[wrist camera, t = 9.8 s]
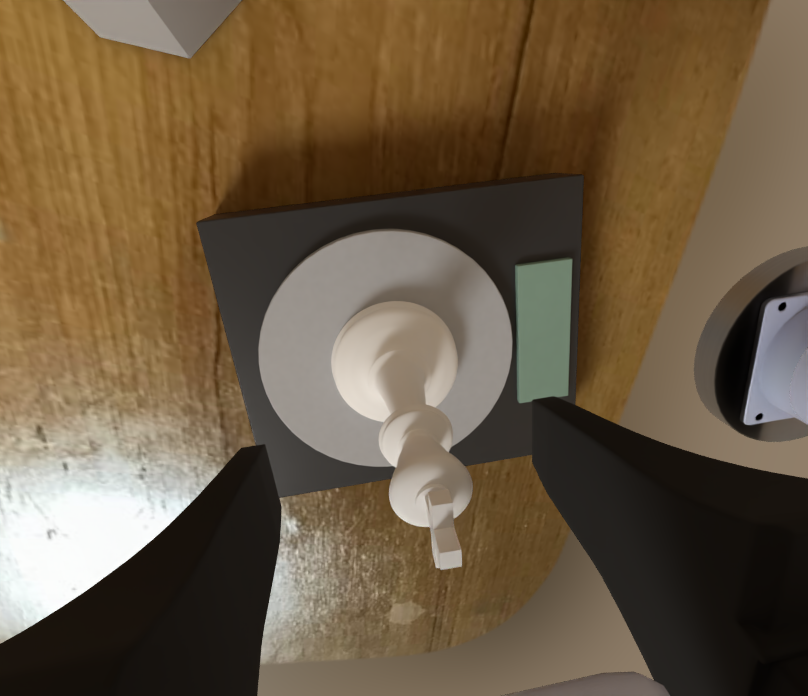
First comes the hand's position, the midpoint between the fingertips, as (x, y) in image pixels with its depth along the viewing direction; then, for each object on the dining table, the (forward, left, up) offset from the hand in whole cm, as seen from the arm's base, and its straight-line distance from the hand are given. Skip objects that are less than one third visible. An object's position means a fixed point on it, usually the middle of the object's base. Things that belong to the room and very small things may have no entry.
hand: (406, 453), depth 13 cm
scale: (-1, 0, -9) cm, 9 cm away
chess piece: (0, 0, -7) cm, 7 cm away
